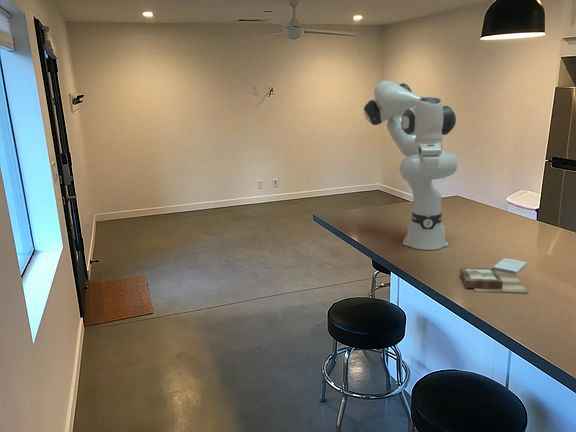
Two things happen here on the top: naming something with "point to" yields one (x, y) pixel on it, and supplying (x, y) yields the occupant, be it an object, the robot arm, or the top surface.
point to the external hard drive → (510, 266)
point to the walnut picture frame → (481, 278)
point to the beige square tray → (506, 285)
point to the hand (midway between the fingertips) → (426, 187)
